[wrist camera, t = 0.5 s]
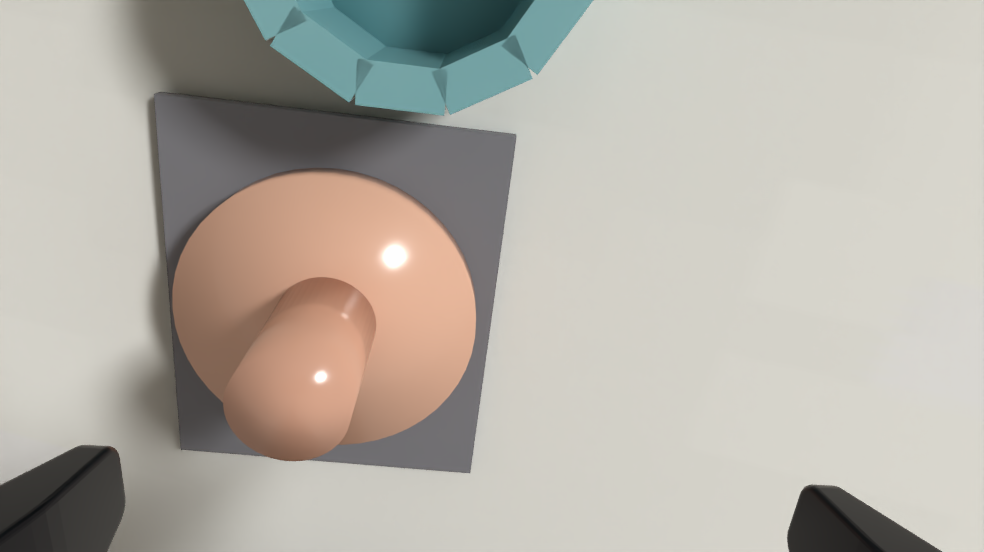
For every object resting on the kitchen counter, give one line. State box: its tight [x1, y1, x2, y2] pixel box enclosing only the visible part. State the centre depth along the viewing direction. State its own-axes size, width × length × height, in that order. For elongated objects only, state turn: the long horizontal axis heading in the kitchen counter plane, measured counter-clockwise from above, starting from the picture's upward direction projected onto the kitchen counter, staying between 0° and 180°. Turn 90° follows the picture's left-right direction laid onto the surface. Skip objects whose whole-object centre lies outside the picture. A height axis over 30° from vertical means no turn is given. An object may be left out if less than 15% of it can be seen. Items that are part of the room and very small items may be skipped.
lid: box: [172, 167, 476, 461], centre depth 18 cm, size 9×9×6 cm
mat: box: [154, 92, 516, 473], centre depth 21 cm, size 12×10×1 cm
